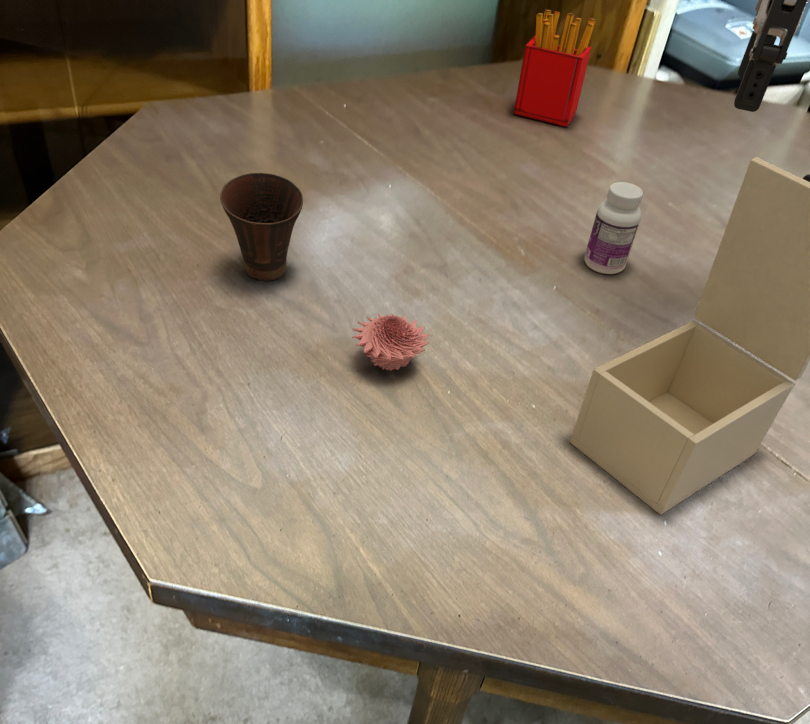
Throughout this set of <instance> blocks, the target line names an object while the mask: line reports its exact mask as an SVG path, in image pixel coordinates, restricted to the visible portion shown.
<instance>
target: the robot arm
mask: <svg viewBox="0 0 810 724" xmlns="http://www.w3.org/2000/svg"><path fill="white" fill-rule="evenodd" d="M809 1H810V0H757V1H756V2H757V3H756V6H755V17H754V18H753V21H752V30H753V31H752V32H751V35H750V37H749V40H748V42H747V46H746V48H745V51H744V54H743V57H742V59H741V62H740V65H739V67H738V70H737V77H739V78H740V79H741V82H740V84H739V87H738V90H737V93H736V95H735V98H734V100H733V101H734V102H733V105H734V108H735V109H737V110H740V111H746V112H752V113H755V112H757V111H758V110H759V109H760V107H761V105H762V102H763V100H764V97H765V96H766V92H767V90H768V87H769V85H770V82H771V80H772V77H773V75H774V72H775V70H776V67H779V65H782V64H783V63H784V60H786V59H787V56H788V50H789V48H790V45H791V42H792V41H793V37H794V36H795V35H796V33H797V31H798V29H799V28H800V26H801V25H800V24H801V22H802V19H803V16H804V14H805V10H806V7H807V4H808V2H809ZM777 38H779V42H778V44H776V41H777Z"/></svg>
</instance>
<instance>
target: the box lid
mask: <svg viewBox="0 0 810 724" xmlns="http://www.w3.org/2000/svg"><path fill="white" fill-rule="evenodd" d="M744 174H745V175H744V177H743V179H742V182H741V184H740V185H741V186H740V189H739V190H738V193H737V197H736V199H735V202H734V206H733V208H732V211H731V213H730V215H729V217H728V218H729V219H728V221H727V224H726V227H725V230H724V233H723V235H722V238H721V241H720V244H719V246H718V249H717V252H716V254H715V258H714V260H713V262H712V265H711V268H710V271H709V274H708V276H707V280H706V283H705V285H704V288H703V290H702V293H701V296H700V298H699V302H698V304H697V307H696V310H695V313H694V315H693V318H694V319H696V320H697V321H698V322H699V323H701V324H703V325H704V326H707V328H708V327H709V328H710V329H712V331H715V333H718V334H720V335H721V336H723V338H726V339H728V340H729V341H731V343H734V344H736V345H737V346H739V347H740V348H741V349H742V348H743V349H744V350H745V351H746V352H748V353H750V354H752V356H755V357H756V358H758V359H759V360H761V361H763V363H765V364H766V365H769V366H771V367H772V368H774V370H775V369H776V370H777V371H779V372H780V373H781V374H783V375H785V376H786V377H788V378H790V379H791V380H793V381H794V382H796V381H798V380H799V379H800V378H802V376H803V374H804V372H805V370H806V368H807V366H808V365H809V363H810V174H809V173H808V174H805V175H804V176H803V177H800V176H798V175H795V174H794V173H791V172H789V171H787V170H785V169H783V168H781V167H779V166H777V165H775V164H772V163H771V162H768V161H766V160H764V159H762V158H760V157H758V156H756V157H753V158H751V159H750V160H749V164H748V166H747V169H746V171H745V173H744Z"/></svg>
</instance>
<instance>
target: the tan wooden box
mask: <svg viewBox="0 0 810 724" xmlns="http://www.w3.org/2000/svg"><path fill="white" fill-rule="evenodd" d="M795 385H796V384H795V382H793V381H792V380H790V379H789V378H787V376H784V374H783V375H782V373H779V372H778V371H776V370H775V369H773V368H771V367H770V366H768V364H766V363H764V362H762V361H760V359H757V358H755V357H754V356H753V355H750V354H749V352H748V353H747V351H744V350H743V349H742V348H741V347H740V348H739V347H738V346H736V345H735V344H733V342H730V341H728V340H727V339H725V337H722V336H720V335H719V334H717V332H714V330H711V329H709V328H708V327H706V325H704V324H702V323H701V322H699V321H696V320H692V321H690V322H687V323H686V324H684V325H682V326H679V327H677V328H675V329H673V330H671V331H669V332H667V333H665V334H663V335H661V336H659V337H657V338H655V339H652V340H650V341H649V342H647V343H645V344H642V345H640V346H638V347H636V348H634V349H632V350H630V351H628V352H626V353H623V354H621V355H619V356H617V357H616V358H614V359H611V360H609V361H608V362H605V363H603V364H601V365H599V366H597V367H594V368H593V369H592V373H591V376H590V379H589V381H588V384H587V388H586V390H585V394H584V397H583V400H582V403H581V406H580V409H579V412H578V416H577V418H576V422H575V424H574V428H573V430H572V434H571V437H570V439H569V443H571V445H573V446H574V447H575V448H576V449H577V450H578V451H580V452H581V453H582V454H584V455H585V456H587V458H589V459H590V460H591V461H593V462H594V463H595V464H597V466H598V467H600V468H601V469H602V470H603V471H605V472H606V473H608V474H609V475H610V476H611V477H613V478H614V479H615V480H616V481H617V482H619V483H620V484H621V485H623V486H624V487H625V488H626V489H627V490H629V491H630V492H631V493H633V494H634V495H635V496H637V498H639V499H640V500H641V501H643V503H645V504H647V506H649V507H650V508H651V509H652V510H654V511H655V512H656V513H657V514H659V515H660V516H662V515H663V514H664V513H666V512H667V511H669V510H670V509H672V508H674V507H676V506H677V505H679V504H680V503H681V502H683V501H685V500H686V499H687V498H689V497H690V496H692V495H693V494H695V493H697V492H698V491H700V490H702V489H703V488H705V487H706V486H708V485H709V484H711V483H712V482H714V481H716V480H717V479H719V478H720V477H721V476H723V475H725V474H726V473H727V472H730V471H731V470H732V469H734V468H735V467H738V466H739V465H740V464H742V463H743V462H745V461H746V460H748V459H749V458H751V457H752V456H754V455H755V454H756V452H757V450H758V449H759V447H760V445H761V443H762V441H763V440H764V438H765V437H766V435H767V433H768V431H769V430H770V428H771V426H772V425H773V423H774V421H775V419H776V418H777V416H778V415H779V413H780V411H781V409H782V408H783V406H784V404H785V403H786V401H787V399H788V397H789V395H790V393H791V392H792V390H793V388H794V387H795Z"/></svg>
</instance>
